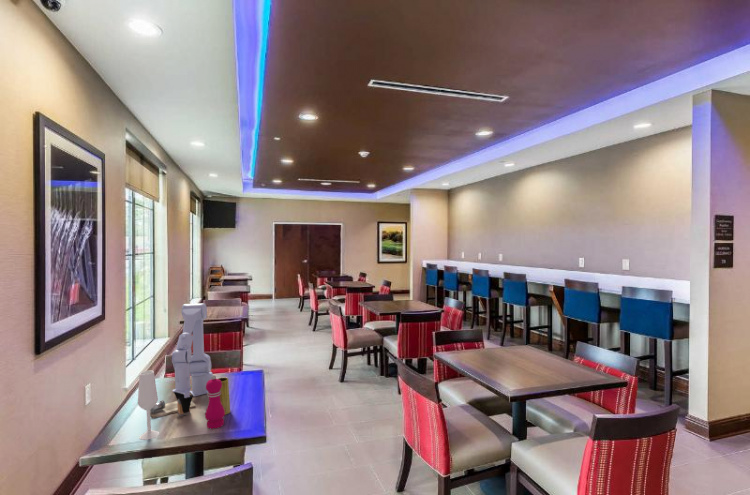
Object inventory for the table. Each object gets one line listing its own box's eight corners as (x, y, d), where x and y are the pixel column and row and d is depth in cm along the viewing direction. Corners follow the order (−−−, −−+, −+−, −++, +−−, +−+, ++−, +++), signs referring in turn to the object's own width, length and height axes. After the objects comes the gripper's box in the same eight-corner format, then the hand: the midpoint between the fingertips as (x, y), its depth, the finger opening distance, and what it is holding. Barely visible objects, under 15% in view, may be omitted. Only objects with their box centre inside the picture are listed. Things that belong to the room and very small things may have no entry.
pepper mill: (213, 431, 158) (211, 379, 158) (201, 426, 162) (199, 376, 162) (229, 423, 165) (227, 373, 164) (217, 419, 168) (215, 371, 168)
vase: (216, 417, 171) (214, 383, 170) (214, 411, 176) (213, 378, 176) (231, 413, 174) (230, 380, 173) (229, 408, 179) (228, 376, 179)
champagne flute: (163, 431, 159) (160, 370, 158) (150, 440, 152) (147, 375, 152) (148, 430, 160) (145, 369, 160) (134, 438, 154) (132, 375, 153)
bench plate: (189, 399, 190) (189, 397, 190) (195, 407, 182) (195, 405, 181) (147, 409, 180) (147, 407, 180) (152, 418, 171) (152, 416, 171)
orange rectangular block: (187, 410, 178) (187, 396, 178) (190, 413, 175) (189, 399, 175) (177, 413, 176) (177, 399, 176) (179, 416, 173) (179, 402, 172)
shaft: (161, 410, 179) (161, 399, 179) (165, 412, 177) (165, 401, 177) (150, 414, 175) (149, 403, 175) (154, 416, 173) (153, 405, 173)
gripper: (168, 375, 178) (169, 406, 179) (176, 384, 167) (177, 417, 167) (186, 371, 183) (187, 402, 183) (194, 380, 171) (195, 412, 171)
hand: (183, 409), depth 175 cm, fingers open, 7 cm apart
